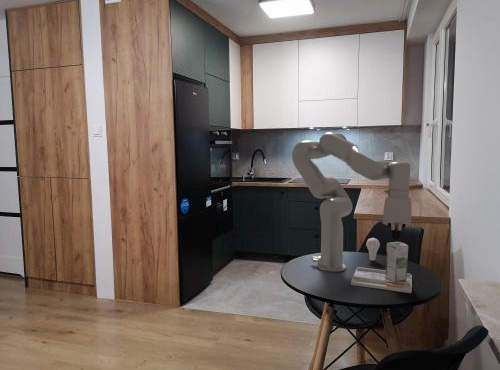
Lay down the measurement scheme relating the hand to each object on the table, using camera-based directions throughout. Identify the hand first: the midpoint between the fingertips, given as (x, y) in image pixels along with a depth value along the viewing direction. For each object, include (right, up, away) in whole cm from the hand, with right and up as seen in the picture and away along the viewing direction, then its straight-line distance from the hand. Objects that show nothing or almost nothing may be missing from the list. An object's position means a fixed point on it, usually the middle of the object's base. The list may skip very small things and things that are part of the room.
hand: (395, 239), depth 148 cm
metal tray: (-4, -16, +3) cm, 17 cm away
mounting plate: (-4, -17, +3) cm, 18 cm away
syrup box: (+1, -16, +1) cm, 16 cm away
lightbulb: (+1, -15, +31) cm, 34 cm away
